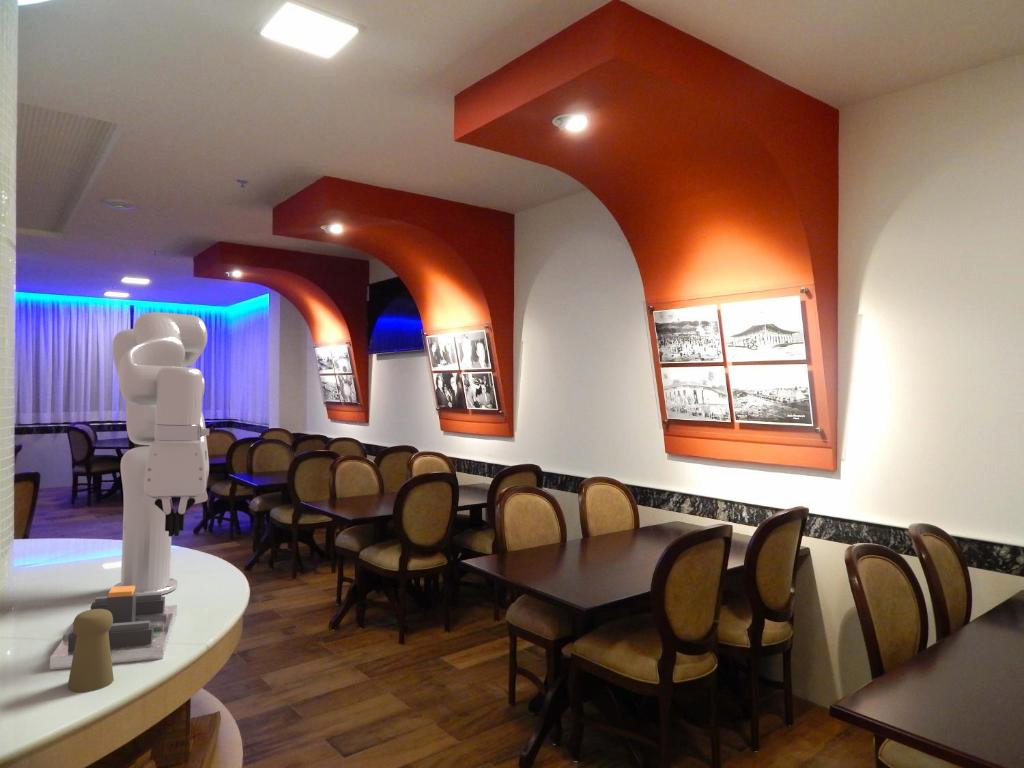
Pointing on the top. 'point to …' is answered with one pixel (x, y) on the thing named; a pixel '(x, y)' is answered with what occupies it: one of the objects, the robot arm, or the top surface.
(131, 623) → the long gray rail
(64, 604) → the top surface
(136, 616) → the panel
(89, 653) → the cork
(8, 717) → the top surface
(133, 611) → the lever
